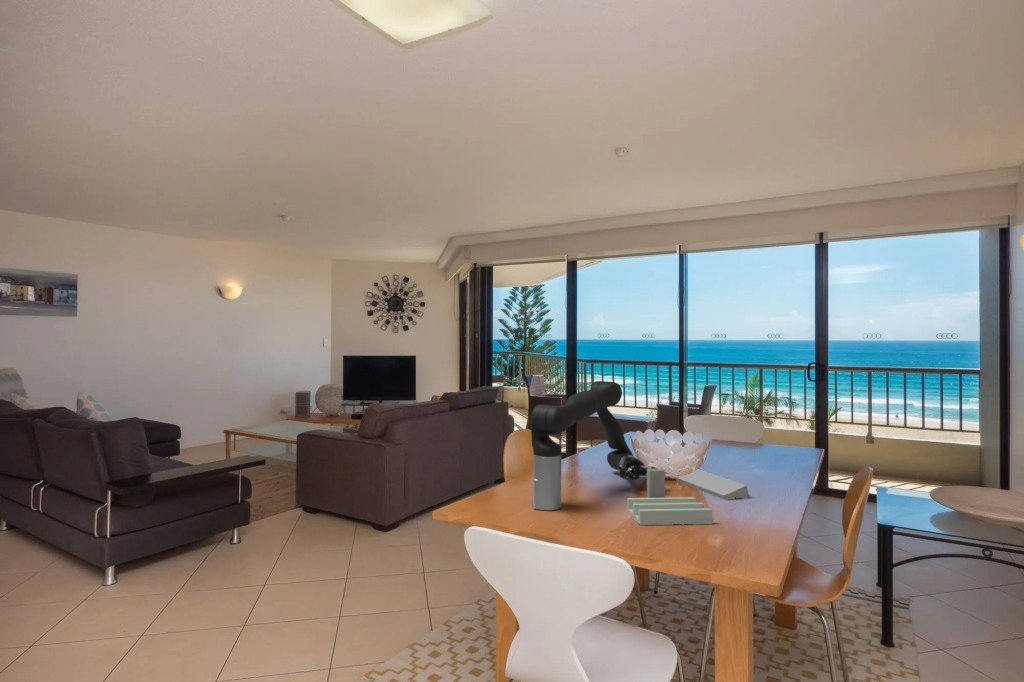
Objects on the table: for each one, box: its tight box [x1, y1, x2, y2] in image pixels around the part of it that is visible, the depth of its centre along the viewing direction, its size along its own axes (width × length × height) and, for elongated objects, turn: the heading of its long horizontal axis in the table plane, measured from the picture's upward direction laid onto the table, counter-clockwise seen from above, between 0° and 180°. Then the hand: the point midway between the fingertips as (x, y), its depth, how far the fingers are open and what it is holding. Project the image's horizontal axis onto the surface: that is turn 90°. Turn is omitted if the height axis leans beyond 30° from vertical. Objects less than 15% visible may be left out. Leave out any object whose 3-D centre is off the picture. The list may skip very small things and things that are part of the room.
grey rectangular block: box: [646, 468, 666, 498], centre depth 183 cm, size 5×3×12 cm, turn 94°
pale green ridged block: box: [626, 496, 713, 526], centre depth 171 cm, size 22×14×4 cm, turn 94°
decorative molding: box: [675, 468, 750, 501], centre depth 208 cm, size 34×5×10 cm
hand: (644, 476), depth 195 cm, fingers open, 8 cm apart
